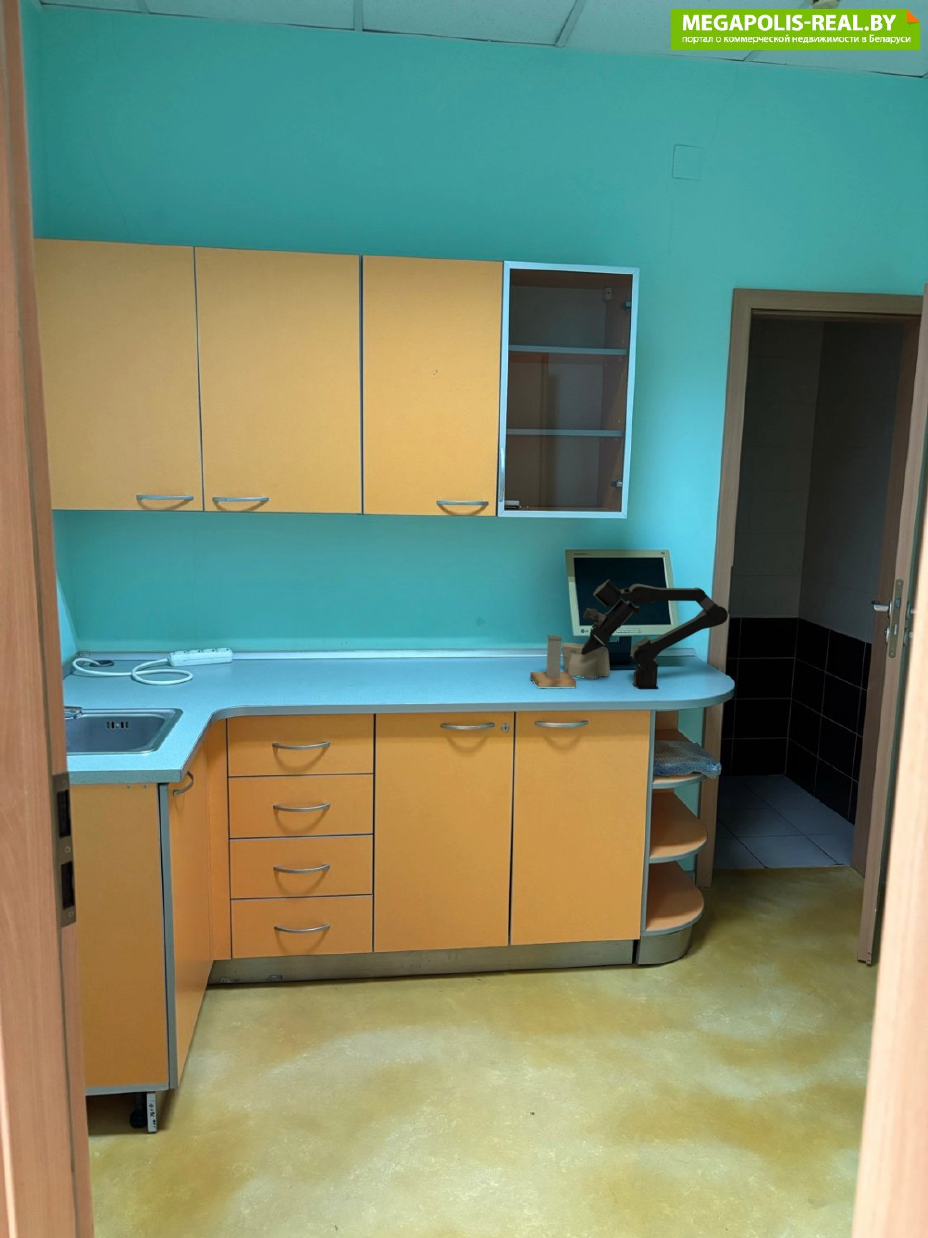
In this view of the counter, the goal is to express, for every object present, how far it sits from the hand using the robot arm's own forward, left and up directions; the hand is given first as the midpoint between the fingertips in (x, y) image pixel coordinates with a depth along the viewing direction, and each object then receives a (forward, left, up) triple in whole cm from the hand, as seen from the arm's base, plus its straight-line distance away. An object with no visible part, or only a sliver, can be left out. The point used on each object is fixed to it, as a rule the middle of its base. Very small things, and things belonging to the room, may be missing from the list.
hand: (582, 652), depth 295 cm
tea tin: (+9, -1, -8) cm, 12 cm away
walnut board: (+9, -1, -10) cm, 14 cm away
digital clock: (-5, -13, -11) cm, 17 cm away
